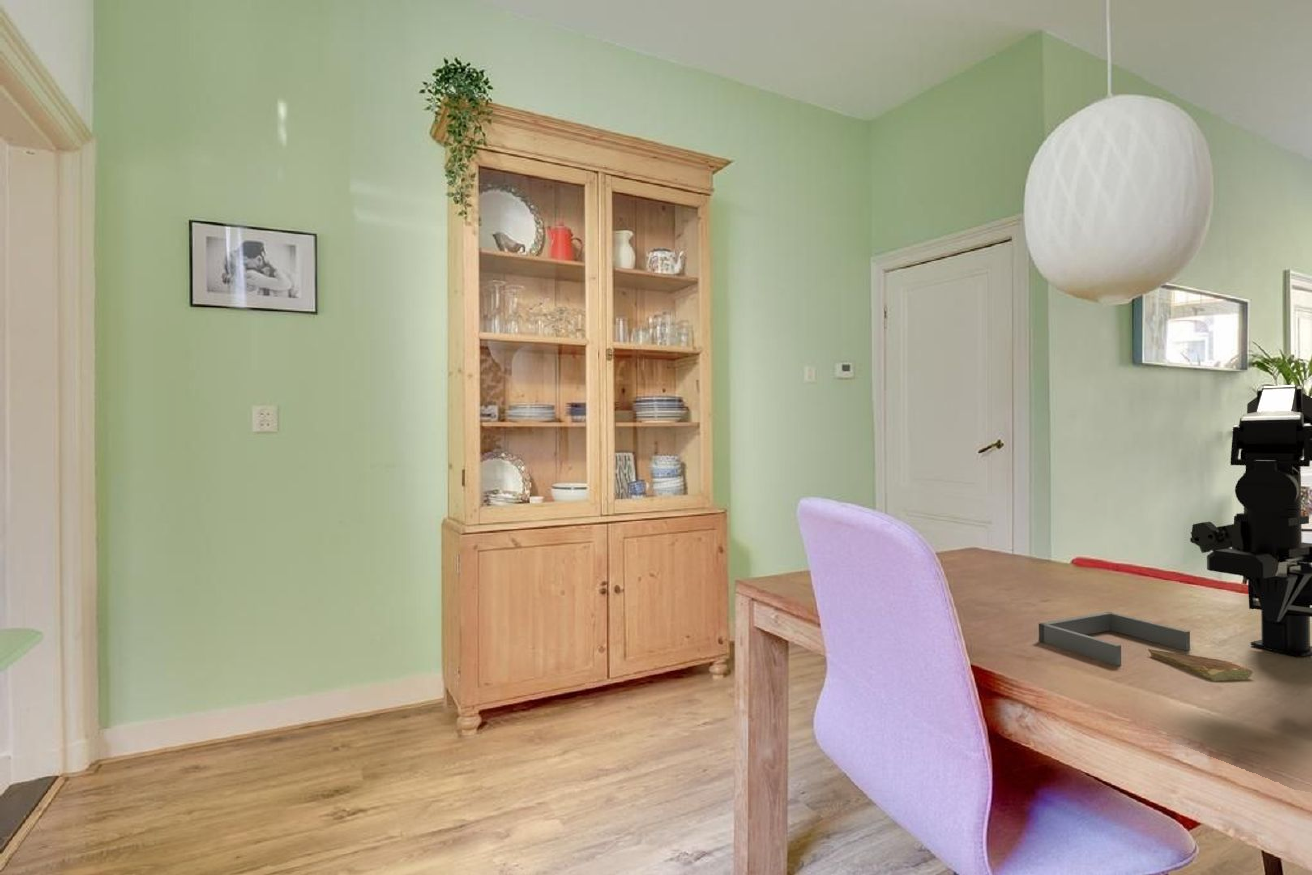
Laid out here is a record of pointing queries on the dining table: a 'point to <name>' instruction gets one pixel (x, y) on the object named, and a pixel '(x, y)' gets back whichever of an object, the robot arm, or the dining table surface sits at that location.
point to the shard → (1204, 666)
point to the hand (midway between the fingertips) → (1273, 621)
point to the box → (1076, 630)
